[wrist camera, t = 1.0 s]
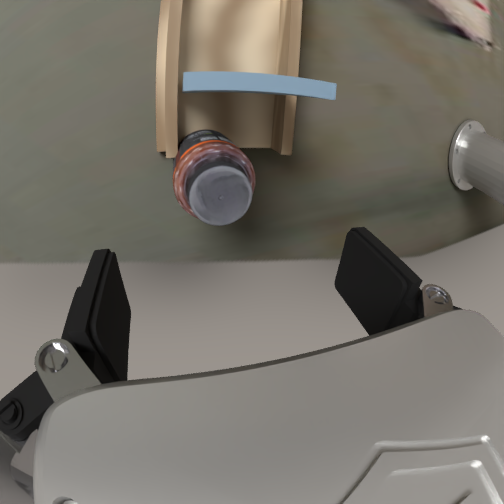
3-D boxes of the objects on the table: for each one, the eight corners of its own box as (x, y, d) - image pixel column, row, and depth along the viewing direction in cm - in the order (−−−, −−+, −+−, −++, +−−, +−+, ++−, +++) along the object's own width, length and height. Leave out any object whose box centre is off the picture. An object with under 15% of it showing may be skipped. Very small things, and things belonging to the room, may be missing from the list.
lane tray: (297, -47, 15) (318, -64, 10) (286, 146, 27) (306, 158, 23) (171, -58, 12) (171, -81, 7) (158, 150, 24) (153, 161, 20)
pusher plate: (272, 84, 22) (336, 83, 13) (271, 94, 23) (335, 100, 13) (182, 82, 20) (183, 71, 11) (182, 93, 21) (183, 90, 11)
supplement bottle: (197, 196, 28) (209, 256, 19) (161, 152, 24) (150, 192, 15) (245, 162, 27) (283, 206, 18) (212, 115, 24) (234, 130, 15)
